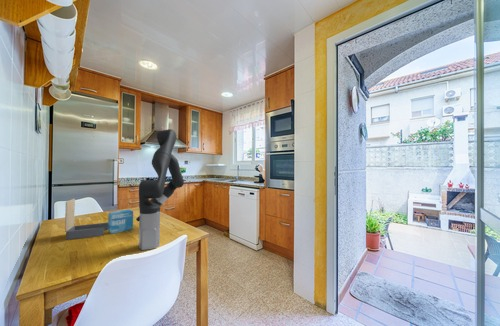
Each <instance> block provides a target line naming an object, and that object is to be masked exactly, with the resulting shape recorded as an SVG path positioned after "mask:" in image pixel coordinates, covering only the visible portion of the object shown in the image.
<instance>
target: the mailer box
mask: <svg viewBox="0 0 500 326" xmlns="http://www.w3.org/2000/svg"><path fill="white" fill-rule="evenodd" d="M75 201H76V198H72V199H69V200H66V201H65V214H64V215H65V216H64V217H65V219H64V220H65V221H64V224H65V225H64V232H66V233H65V241H69V240H77V239H85V238H92V237H94V238H95V237H101V236H104V235H105V232H104V231H108V222H98V223H90V224H80V225H75V209H76V208H75V207H76V206H75V205H76V204H75V203H76V202H75Z"/></svg>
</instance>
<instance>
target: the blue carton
mask: <svg viewBox="0 0 500 326" xmlns="http://www.w3.org/2000/svg"><path fill="white" fill-rule="evenodd" d="M107 216H108V217H107V223H108V230H107V231H108V232H109V233H110V234H117V233H122V232H126V231H130V230H132V229H133V227H134V212H133V210H131V209H124V210H123V209H122V210H118V211H110V212H109V213H108V215H107Z"/></svg>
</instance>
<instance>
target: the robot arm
mask: <svg viewBox="0 0 500 326" xmlns="http://www.w3.org/2000/svg"><path fill="white" fill-rule="evenodd" d="M156 140H157V143H158V145H159V147H158V148H157V149H156V150H155V152H154V153H153V156H152V158H151V166H152V168H153V169H154V171H155V172H156V174H157V179H153V180H152V179H145V180H141V181H140V183H139V186H138V201H139V202H138V206H139V207H138V209H139V215H138V217H136V219H135V220H136V221H137V222H139V229H138V235H139V236H138V249H140V250H141V251H147V250H151V249H154V250H155V249H157V247H159V245H160V243H161V241H160V240H161V235H160V234H161V206H162V205H164V203H166V201H167V200H169V198H170V197H171V196H172V195H173V194H174V193H175V190H176V189H178V188H179V189H180V188H182V187H183V186H184V184H185V181H184V180H185V179H184V177H183V174H182V172H181V167H180V164H179V160H178V159H177V158H176V157H175V155H174V154H172V152H173V149H174V147H175V144H176V141H177V132H176V131H175V130H174V129H169V128H168V129H164V130H159V131H157V132H156ZM168 171H169V174H170V176H171V179H170V180H169V182H168V183H167V184H166V178H167V173H168ZM165 185H166V186H165Z"/></svg>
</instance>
